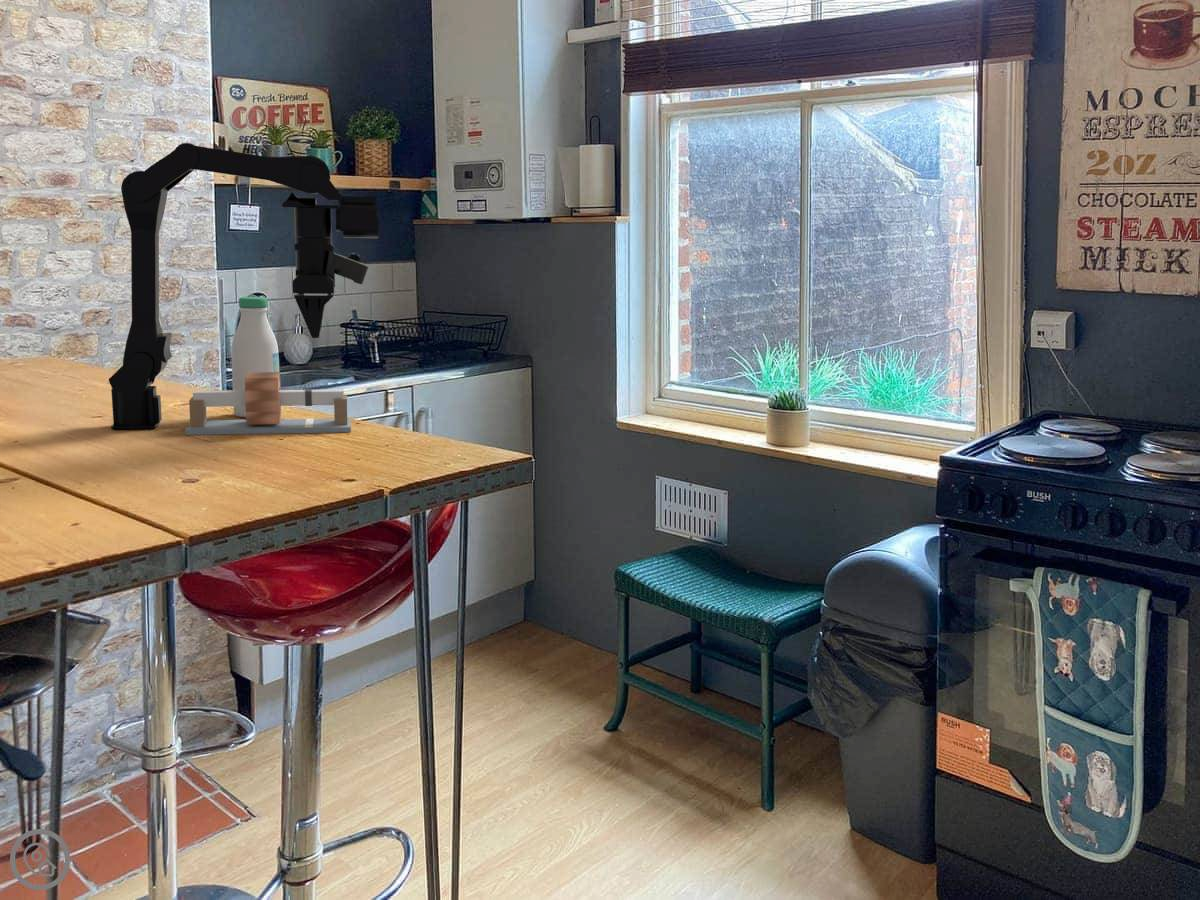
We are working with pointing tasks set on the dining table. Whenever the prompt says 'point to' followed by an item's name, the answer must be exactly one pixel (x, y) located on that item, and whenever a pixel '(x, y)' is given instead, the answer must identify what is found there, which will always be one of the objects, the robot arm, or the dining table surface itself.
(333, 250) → the robot arm
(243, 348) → the milk bottle
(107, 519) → the dining table surface
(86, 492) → the dining table surface
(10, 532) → the dining table surface
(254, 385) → the collar
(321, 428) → the rail
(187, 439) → the dining table surface
